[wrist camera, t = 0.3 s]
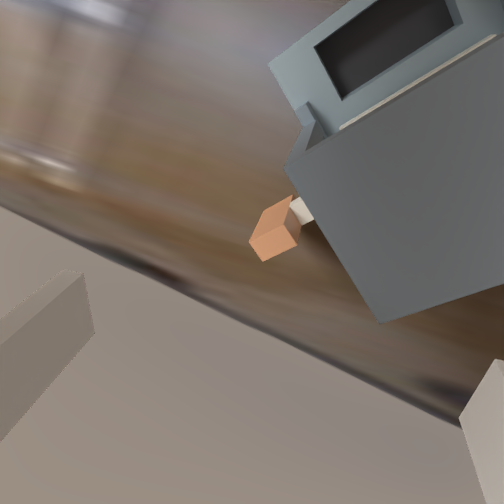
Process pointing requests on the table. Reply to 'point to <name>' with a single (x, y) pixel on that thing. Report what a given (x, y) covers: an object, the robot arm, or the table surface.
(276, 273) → the table surface
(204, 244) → the table surface
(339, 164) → the tunnel deck
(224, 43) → the table surface
